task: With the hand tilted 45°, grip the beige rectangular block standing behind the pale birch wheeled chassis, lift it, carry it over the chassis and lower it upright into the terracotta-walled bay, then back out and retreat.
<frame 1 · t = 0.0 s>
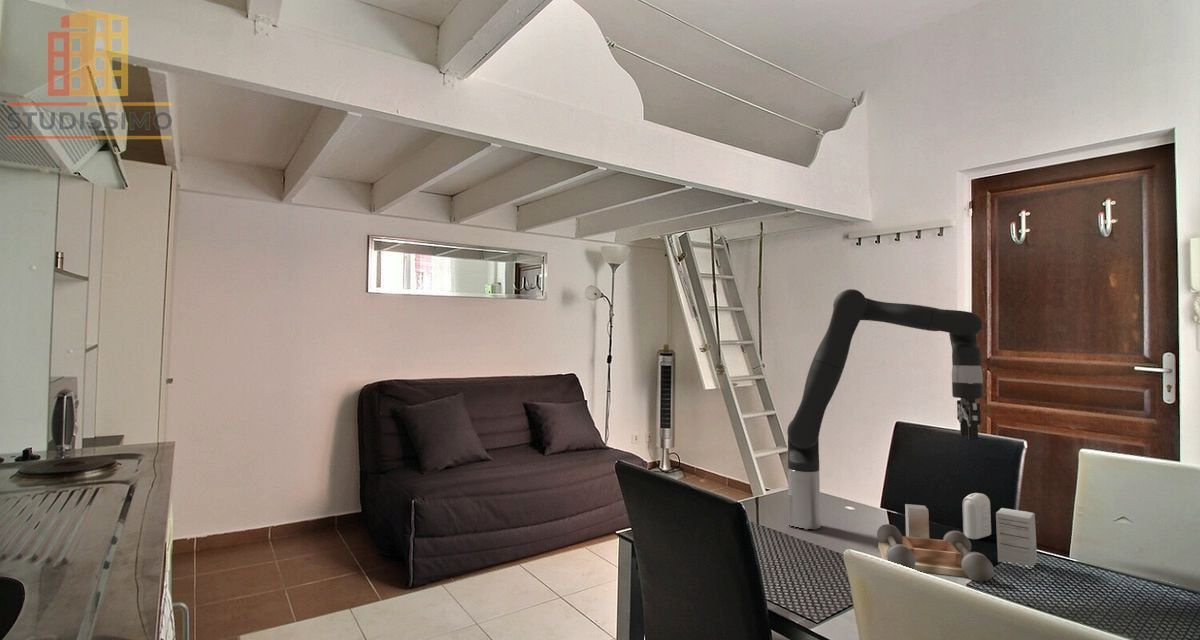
hand: (969, 438, 163), 29 cm above the table, tool pointing down, fingers open, 8 cm apart
supplement box: (1017, 564, 144), on the table
arched gray pillar: (977, 536, 167), on the table
chassis: (930, 562, 144), on the table
beige rectangular block: (917, 543, 160), on the table
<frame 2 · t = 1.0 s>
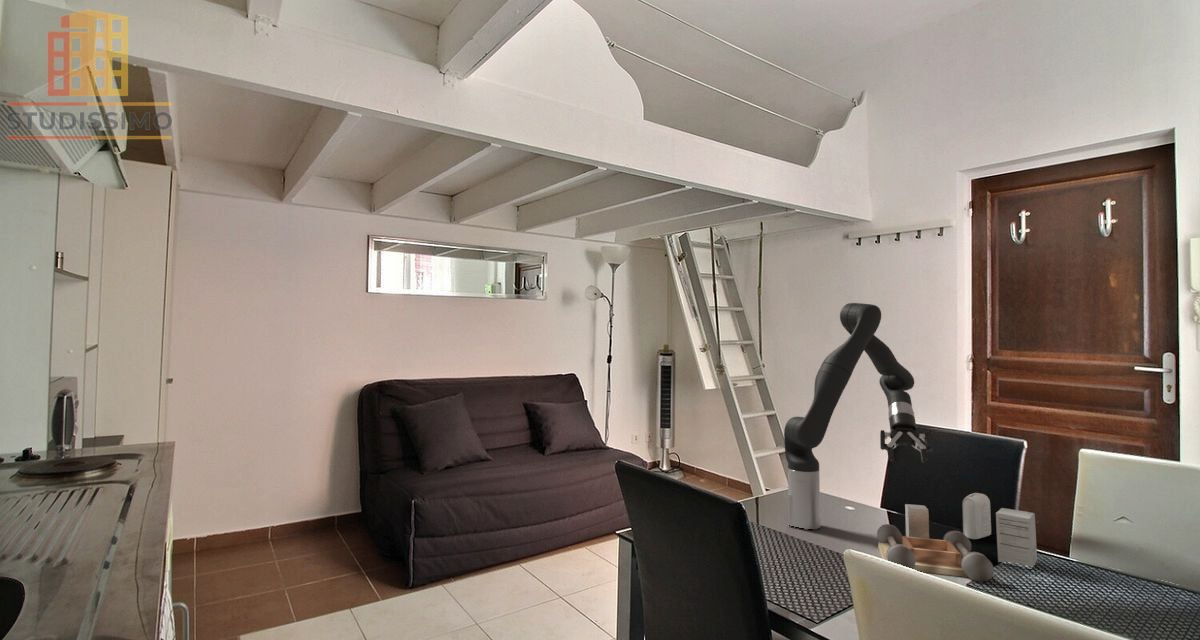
hand: (907, 460, 173), 21 cm above the table, tool tilted 45°, fingers open, 8 cm apart
nothing on the table moved.
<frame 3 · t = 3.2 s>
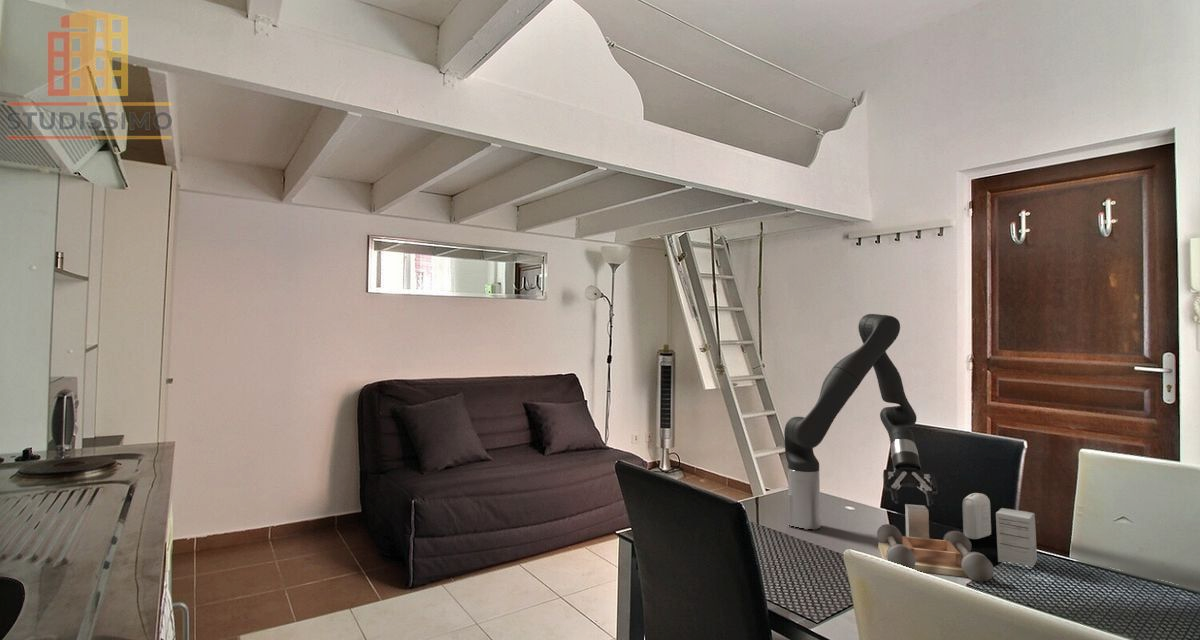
hand: (913, 503, 165), 10 cm above the table, tool tilted 45°, fingers open, 8 cm apart
nothing on the table moved.
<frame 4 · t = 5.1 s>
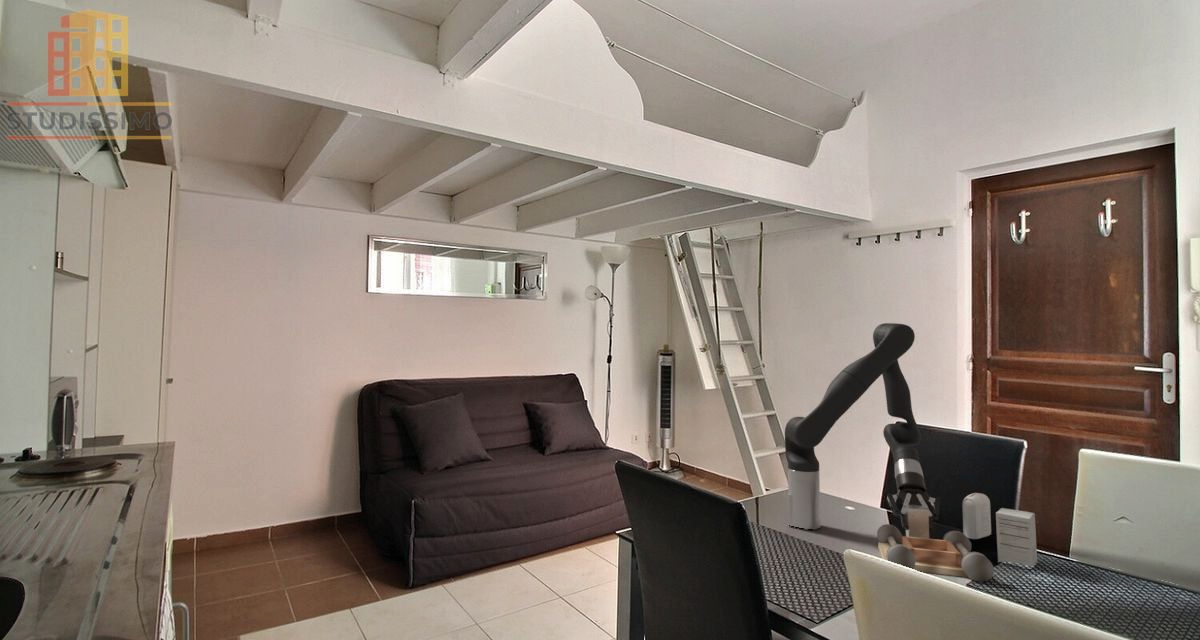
hand: (918, 529, 158), 4 cm above the table, tool tilted 45°, fingers closed on beige rectangular block, 5 cm apart
beige rectangular block: (917, 543, 160), on the table, touching gripper
everything else where it was.
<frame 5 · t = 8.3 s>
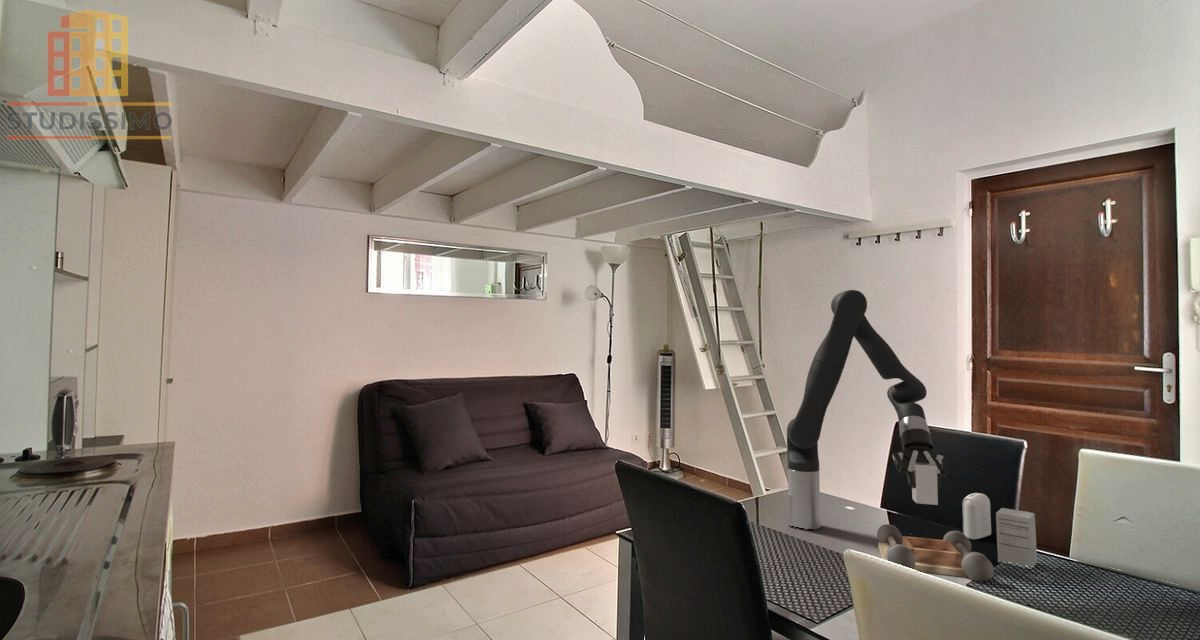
hand: (926, 487, 149), 18 cm above the table, tool tilted 45°, fingers closed on beige rectangular block, 5 cm apart
beige rectangular block: (924, 501, 151), point 14 cm above the table, touching gripper
everything else where it was.
when the fingers open (7 cm above the table, at t = 11.3 s): beige rectangular block drops 1 cm, resting on chassis.
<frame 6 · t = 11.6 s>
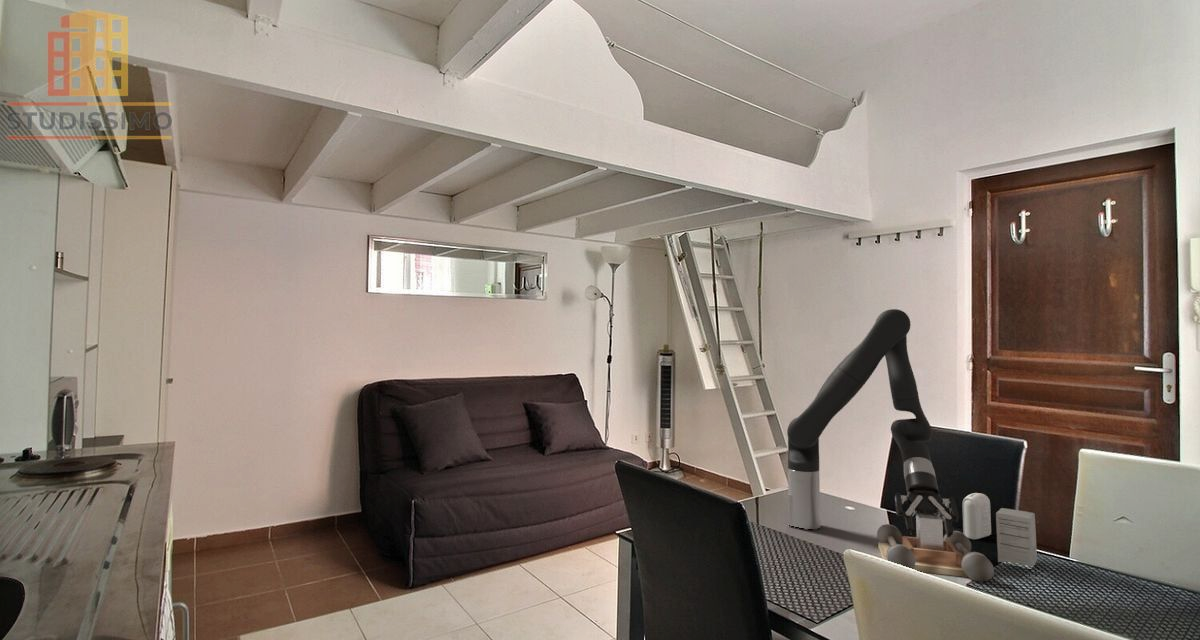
hand: (930, 533, 143), 8 cm above the table, tool tilted 45°, fingers open, 8 cm apart
beige rectangular block: (930, 556, 144), point 1 cm above the table, touching chassis
everything else where it was.
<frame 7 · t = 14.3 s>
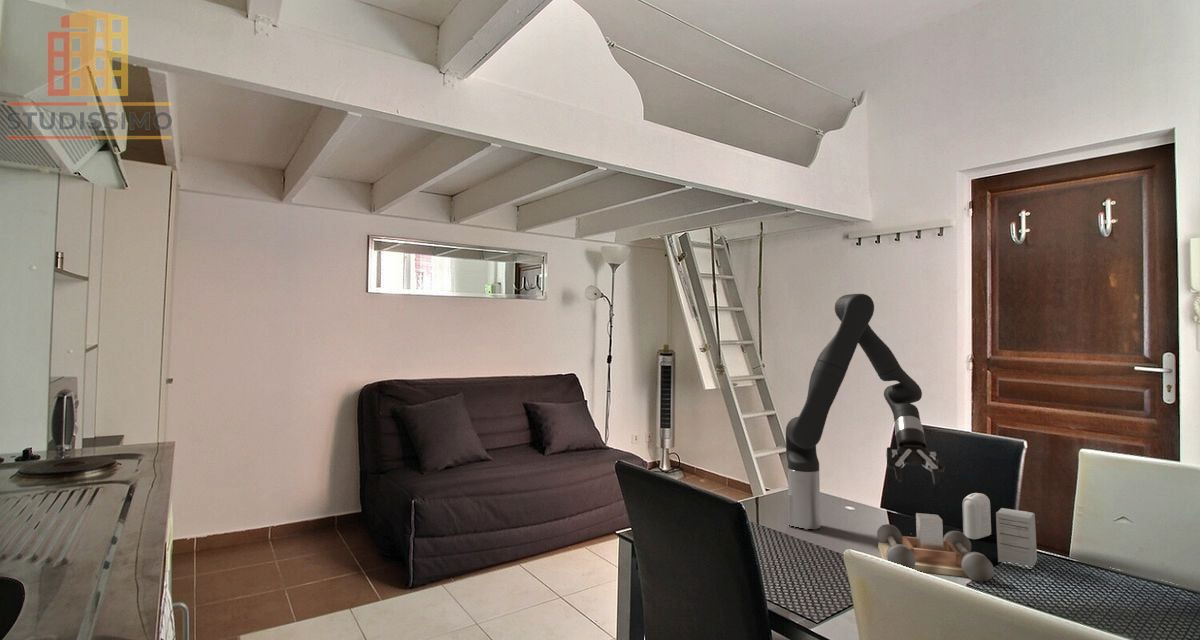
hand: (918, 481, 156), 18 cm above the table, tool tilted 45°, fingers open, 8 cm apart
nothing on the table moved.
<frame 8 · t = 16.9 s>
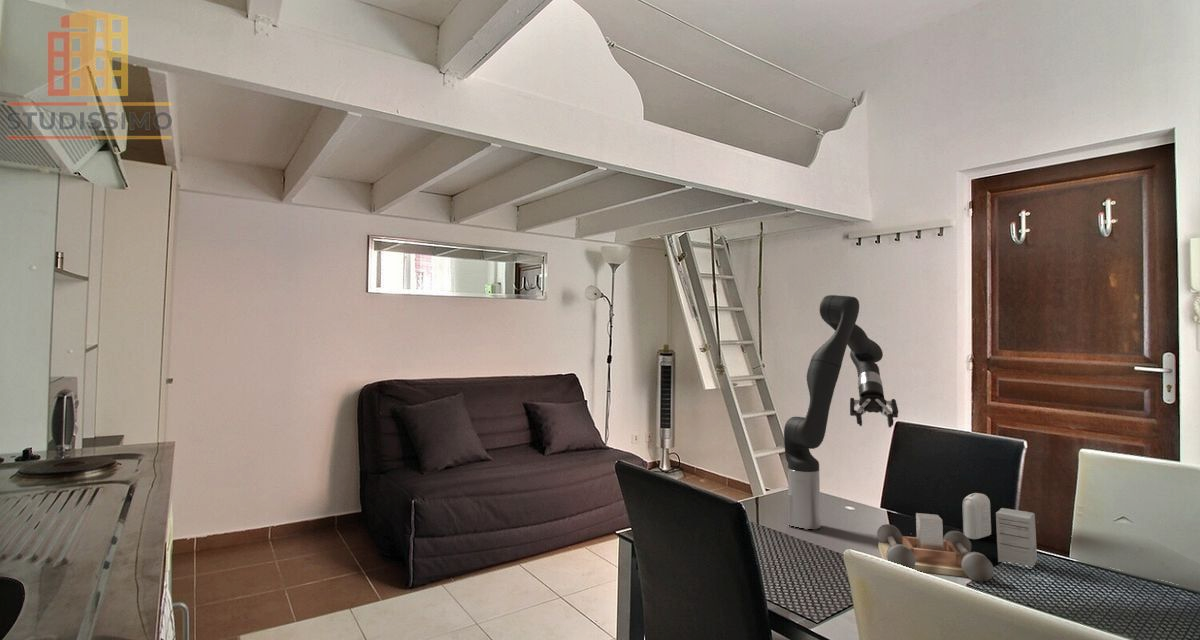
hand: (875, 425, 182), 31 cm above the table, tool tilted 45°, fingers open, 8 cm apart
nothing on the table moved.
at the end: beige rectangular block 0.0 cm off-centre on the chassis, point 1.5 cm above the chassis's base; beige rectangular block tilted 0°; the gripper is holding nothing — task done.
